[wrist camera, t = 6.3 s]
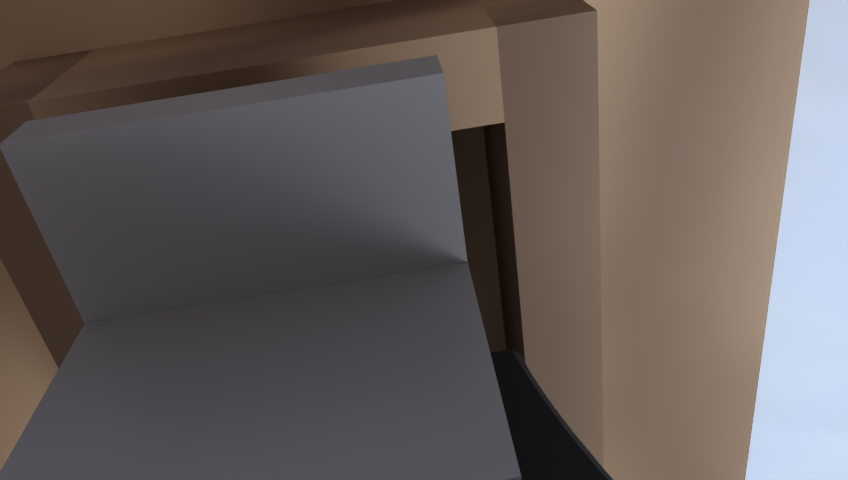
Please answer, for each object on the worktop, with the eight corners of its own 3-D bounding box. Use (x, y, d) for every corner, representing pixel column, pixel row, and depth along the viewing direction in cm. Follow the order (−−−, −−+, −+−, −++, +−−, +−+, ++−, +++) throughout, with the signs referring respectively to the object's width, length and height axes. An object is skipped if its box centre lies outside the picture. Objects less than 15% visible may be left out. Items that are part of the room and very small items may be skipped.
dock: (809, -310, 10) (1004, -374, 7) (721, 480, 18) (793, 608, 15) (-334, -125, 10) (-636, -108, 7) (97, 580, 18) (44, 727, 15)
